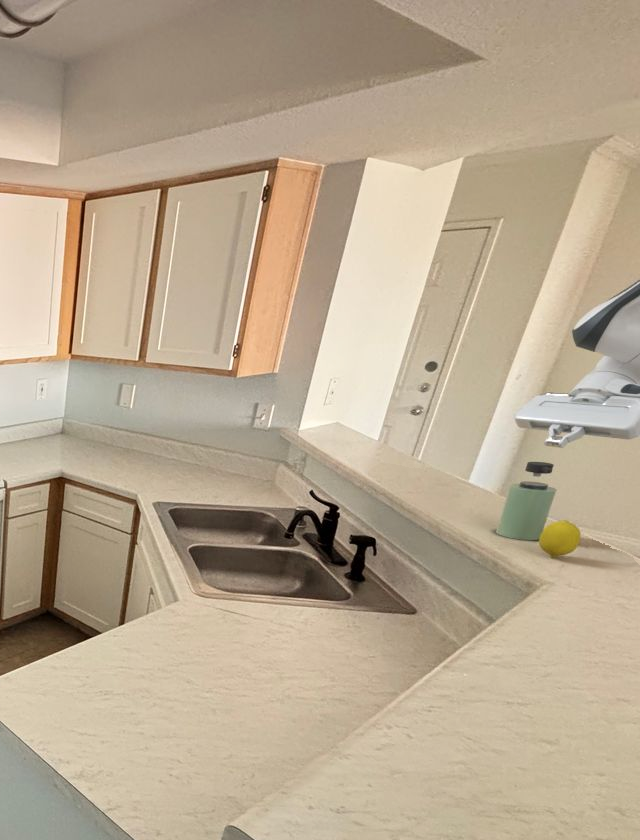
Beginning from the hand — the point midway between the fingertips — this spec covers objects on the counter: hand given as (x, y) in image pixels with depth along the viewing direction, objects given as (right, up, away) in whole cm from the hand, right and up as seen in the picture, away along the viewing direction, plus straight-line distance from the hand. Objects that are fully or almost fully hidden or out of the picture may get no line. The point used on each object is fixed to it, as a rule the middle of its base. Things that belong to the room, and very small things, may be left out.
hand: (553, 445), depth 126 cm
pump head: (-2, -7, +1) cm, 7 cm away
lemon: (-7, -24, -6) cm, 26 cm away
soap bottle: (-1, -19, +6) cm, 20 cm away
